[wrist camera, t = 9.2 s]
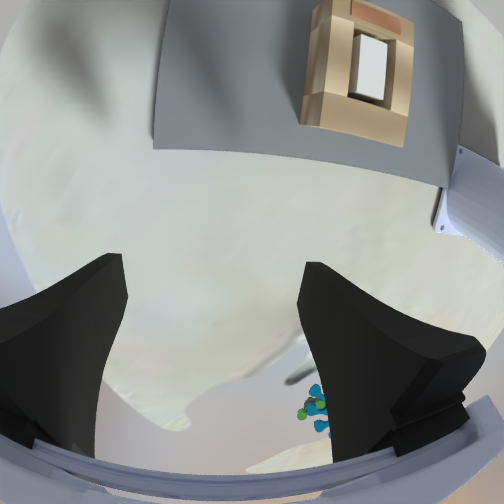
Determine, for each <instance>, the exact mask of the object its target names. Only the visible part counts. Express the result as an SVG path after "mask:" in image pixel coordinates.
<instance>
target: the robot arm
mask: <svg viewBox="0 0 504 504" xmlns="http://www.w3.org/2000/svg"><path fill="white" fill-rule="evenodd" d="M459 150H460V151H459ZM433 230H434V231H435V232H438V233H446V234H453V235H459V236H466V237H467V238H468V239H470V240H471V241H473V242H474V243H475V244H477V245H478V246H480V247H481V248H482V249H484V250H485V251H486V252H488V253H489V254H490V255H492V256H493V257H494V258H495V259H497V260H498V261H499V262H500V263H502V264H503V265H504V168H502V167H500V166H498V165H496V164H495V163H493V162H491V161H489V160H488V159H486V158H484V157H482V156H480V155H478V154H476V153H475V152H473V151H471V150H469V149H467V148H465V147H463V146H461V145H458V147H457V153H456V159H455V164H454V169H453V174H452V178H451V183H450V187H449V189H445V188H443V190H442V194H441V198H440V202H439V206H438V209H437V213H436V217H435V220H434V223H433ZM127 300H128V293H127V288H126V282H125V275H124V269H123V262H122V254H116V253H107V254H104V255H102V256H100V257H99V258H97V259H95V260H93V261H92V262H90V263H89V264H87V265H85V266H84V267H82V268H80V269H79V270H77V271H76V272H74V273H73V274H71V275H69V276H68V277H66V278H64V279H62V280H61V281H59V282H57V283H56V284H54V285H52V286H51V287H49V288H47V289H45V290H43V291H41V292H39V293H37V294H35V295H33V296H31V297H29V298H27V299H24V300H22V301H19V302H17V303H15V304H12V305H9V306H7V307H4V308H1V309H0V499H1V500H2V501H3V502H5V503H6V504H159V503H152V502H145V501H139V500H134V499H129V498H125V497H120V496H116V495H112V494H110V493H109V492H107V491H106V490H105V489H104V488H103V487H101V486H98V485H95V484H99V485H102V486H106V487H110V488H114V489H118V490H122V491H127V492H132V493H137V494H143V495H149V496H156V497H163V498H173V499H182V500H197V501H246V500H260V499H271V498H280V497H288V496H294V495H300V494H306V493H312V492H316V491H321V490H324V491H323V492H322V493H321V495H320V496H319V497H317V498H315V499H312V500H305V501H298V502H291V503H284V504H439V503H441V502H442V501H444V500H445V499H447V498H448V497H449V496H451V495H452V494H453V493H455V492H456V491H457V490H459V489H460V488H461V487H462V486H464V485H465V484H466V483H467V482H469V481H470V480H471V479H472V478H473V477H475V476H476V475H477V474H478V473H479V472H480V471H481V470H483V469H484V468H485V467H486V466H487V465H488V464H489V463H490V462H491V461H493V460H494V459H495V458H496V457H497V456H498V455H499V454H500V453H501V452H502V451H503V450H504V420H503V419H502V417H501V415H500V414H499V412H498V410H497V409H496V407H495V405H494V404H493V402H492V401H491V399H490V397H489V396H488V395H485V396H483V397H482V398H480V399H478V400H477V401H475V402H473V403H472V404H470V405H469V406H467V407H466V408H464V406H463V405H462V402H463V401H464V400H465V395H464V394H463V392H462V391H463V390H464V388H465V387H466V386H467V385H468V384H469V382H470V381H471V380H472V379H473V377H474V376H475V375H476V373H477V372H478V371H479V369H480V368H481V366H482V365H483V363H484V361H485V357H486V350H485V348H484V347H483V346H482V345H481V343H480V342H479V341H478V340H477V339H476V338H475V337H473V336H469V335H465V334H461V333H456V332H452V331H448V330H445V329H442V328H439V327H435V326H432V325H430V324H427V323H424V322H422V321H419V320H417V319H415V318H412V317H410V316H407V315H405V314H403V313H401V312H399V311H397V310H395V309H393V308H392V307H390V306H388V305H386V304H384V303H382V302H381V301H379V300H377V299H376V298H374V297H372V296H371V295H369V294H368V293H366V292H365V291H363V290H362V289H360V288H359V287H357V286H356V285H354V284H353V283H351V282H350V281H349V280H347V279H346V278H344V277H343V276H341V275H340V274H339V273H337V272H336V271H334V270H333V269H331V268H330V267H328V266H327V265H325V264H323V263H321V262H306V265H305V270H304V274H303V279H302V283H301V288H300V292H299V296H298V301H297V307H298V312H299V317H300V321H301V325H302V328H303V331H304V334H305V336H306V339H307V342H308V344H309V347H310V350H311V353H312V355H313V358H314V361H315V363H316V366H317V369H318V372H319V376H320V379H321V384H322V388H323V393H324V398H325V403H326V409H327V414H328V421H329V428H330V435H331V445H332V457H333V463H332V464H328V465H323V466H318V467H312V468H306V469H300V470H293V471H285V472H277V473H266V474H252V475H192V474H179V473H168V472H160V471H152V470H146V469H139V468H134V467H128V466H123V465H118V464H114V463H109V462H105V461H101V460H97V459H95V455H94V442H95V441H94V440H95V439H94V438H95V421H96V411H97V402H98V396H99V390H100V385H101V380H102V375H103V371H104V367H105V364H106V361H107V358H108V355H109V352H110V350H111V347H112V344H113V342H114V339H115V337H116V334H117V332H118V329H119V326H120V324H121V321H122V319H123V315H124V312H125V308H126V304H127ZM90 482H91V483H90ZM92 483H95V484H92ZM326 489H327V490H326Z"/></svg>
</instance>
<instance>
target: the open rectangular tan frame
mask: <svg viewBox="0 0 504 504" xmlns="http://www.w3.org/2000/svg"><path fill="white" fill-rule="evenodd" d="M360 34H362V35H365V36H368V37H371V38H373V39H376V40H378V41H381V42H383V43H386V44H387V61H386V75H385V87H384V97H383V100H365V101H359V100H356V99H352V98H349V97H347V94H348V85H349V77H350V67H351V56H352V45H353V38H354V37H356V36H358V35H360ZM413 52H414V23H412V22H410V21H409V20H407V19H405V18H403V17H401V16H399V15H397V14H394V13H392V12H390V11H388V10H386V9H384V8H381V7H379V6H377V5H374V4H372V3H369V2H367V1H364V0H323V1H322V2H321V3H320V4H319V5H318V6H317V7H316V8H315V9H314V10H313V12H312V22H311V32H310V42H309V51H308V60H307V69H306V77H305V85H304V94H303V101H302V109H301V117H300V124H299V125H305V126H311V127H316V128H321V129H326V130H331V131H336V132H341V133H345V134H349V135H354V136H358V137H362V138H366V139H369V140H373V141H378V142H382V143H386V144H390V145H394V146H398V147H402V148H403V145H404V139H405V133H406V126H407V119H408V112H409V104H410V95H411V84H412V71H413Z"/></svg>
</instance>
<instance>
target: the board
mask: <svg viewBox="0 0 504 504" xmlns="http://www.w3.org/2000/svg"><path fill="white" fill-rule="evenodd" d="M322 1H323V0H170V4H169V9H168V14H167V20H166V25H165V31H164V37H163V43H162V50H161V57H160V65H159V74H158V83H157V93H156V105H155V120H154V140H153V149H187V150H215V151H232V152H246V153H258V154H268V155H278V156H287V157H295V158H302V159H310V160H317V161H323V162H330V163H336V164H342V165H347V166H353V167H358V168H363V169H368V170H373V171H378V172H383V173H387V174H392V175H396V176H400V177H404V178H409V179H413V180H416V181H420V182H424V183H428V184H431V185H435V186H439V187H442V188H445V189H449V187H450V183H451V178H452V174H453V169H454V164H455V159H456V153H457V147H458V141H459V134H460V126H461V117H462V106H463V92H464V42H463V28H462V21H460V20H459V19H457V18H456V17H455V16H453V15H452V14H450V13H449V12H448V11H446V10H445V9H443V8H442V7H440V6H438V5H437V4H435V3H434V2H432V1H430V0H364V1H367V2H369V3H372V4H374V5H377V6H379V7H381V8H384V9H386V10H388V11H390V12H392V13H394V14H397V15H399V16H401V17H403V18H405V19H407V20H409V21H410V22H412V23H414V52H413V71H412V84H411V95H410V104H409V112H408V119H407V126H406V133H405V139H404V145H403V148H402V147H398V146H394V145H390V144H386V143H382V142H378V141H373V140H369V139H366V138H362V137H358V136H354V135H349V134H345V133H341V132H336V131H331V130H326V129H321V128H316V127H311V126H305V125H299V124H300V117H301V109H302V101H303V94H304V85H305V77H306V69H307V60H308V51H309V42H310V32H311V22H312V12H313V10H314V9H315V8H316V7H317V6H318V5H319V4H320V3H321V2H322ZM386 61H387V44H386V43H383V42H381V41H378V40H376V39H373V38H371V37H368V36H365V35H362V34H360V35H358V36H356V37H354V38H353V45H352V56H351V67H350V77H349V85H348V94H347V97H349V98H352V99H356V100H359V101H365V100H383V97H384V87H385V75H386Z"/></svg>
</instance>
